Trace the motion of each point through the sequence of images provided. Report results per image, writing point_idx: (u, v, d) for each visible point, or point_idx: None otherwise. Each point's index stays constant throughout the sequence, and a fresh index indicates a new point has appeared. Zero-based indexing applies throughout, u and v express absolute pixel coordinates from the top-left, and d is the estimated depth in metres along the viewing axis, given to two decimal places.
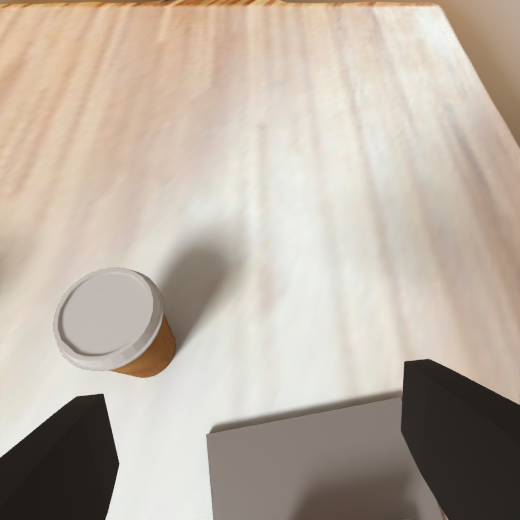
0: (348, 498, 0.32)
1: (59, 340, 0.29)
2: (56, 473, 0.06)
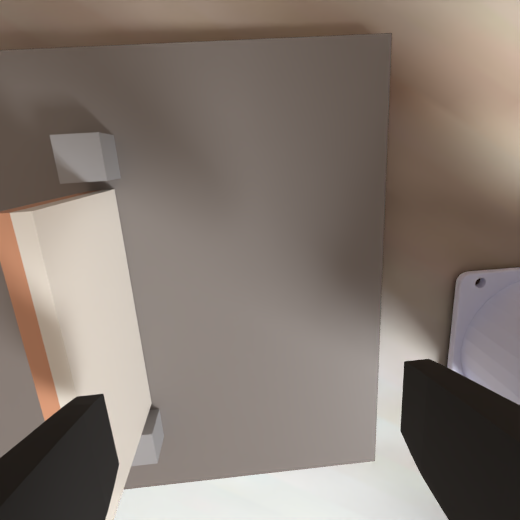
0: None
1: None
2: (56, 473, 0.06)
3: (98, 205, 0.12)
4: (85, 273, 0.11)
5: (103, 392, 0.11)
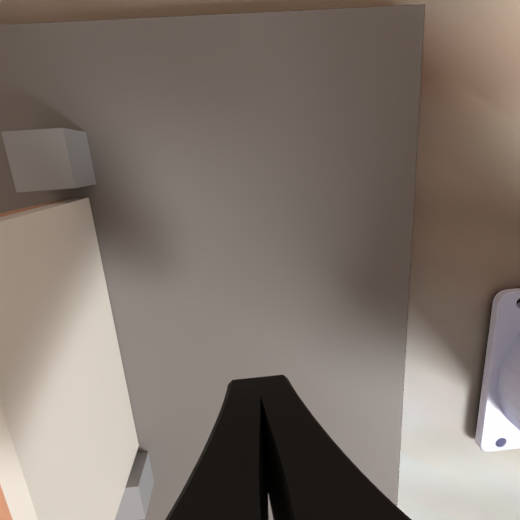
0: None
1: None
2: (260, 449, 0.06)
3: (63, 219, 0.10)
4: (41, 308, 0.08)
5: (68, 457, 0.09)
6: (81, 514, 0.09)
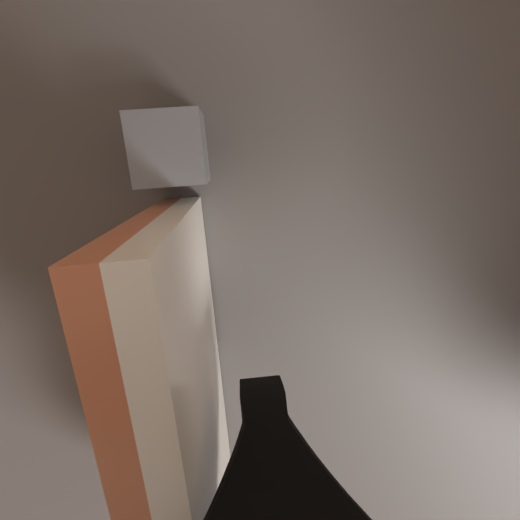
0: None
1: None
2: None
3: (194, 224, 0.08)
4: (195, 347, 0.06)
5: None
6: None
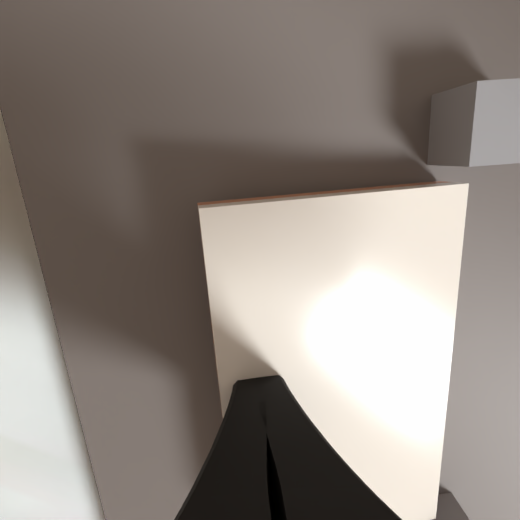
0: None
1: None
2: None
3: (386, 209, 0.08)
4: (301, 298, 0.08)
5: None
6: None
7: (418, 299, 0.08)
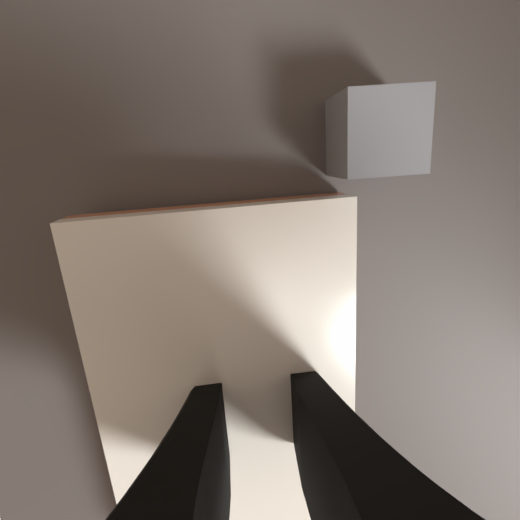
0: None
1: None
2: (213, 454, 0.06)
3: (263, 224, 0.07)
4: (175, 316, 0.07)
5: None
6: None
7: (310, 319, 0.08)
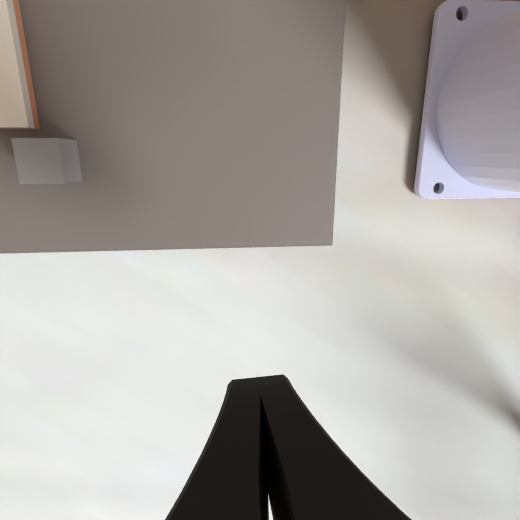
0: None
1: None
2: (261, 449, 0.06)
3: None
4: None
5: None
6: None
7: None
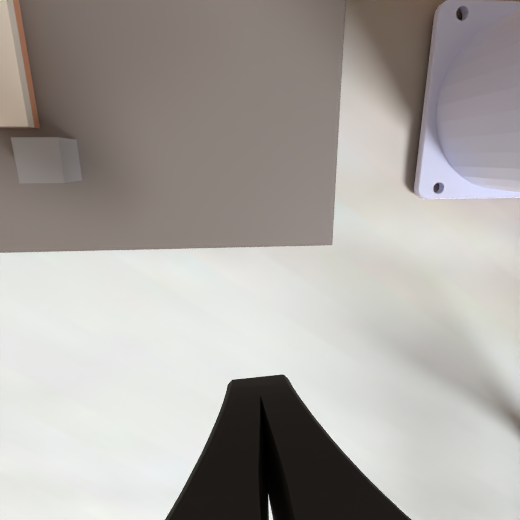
0: None
1: None
2: (261, 449, 0.06)
3: None
4: None
5: None
6: None
7: None
